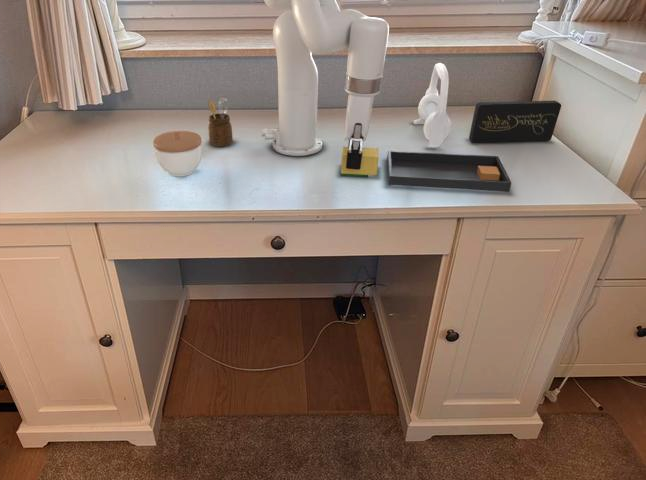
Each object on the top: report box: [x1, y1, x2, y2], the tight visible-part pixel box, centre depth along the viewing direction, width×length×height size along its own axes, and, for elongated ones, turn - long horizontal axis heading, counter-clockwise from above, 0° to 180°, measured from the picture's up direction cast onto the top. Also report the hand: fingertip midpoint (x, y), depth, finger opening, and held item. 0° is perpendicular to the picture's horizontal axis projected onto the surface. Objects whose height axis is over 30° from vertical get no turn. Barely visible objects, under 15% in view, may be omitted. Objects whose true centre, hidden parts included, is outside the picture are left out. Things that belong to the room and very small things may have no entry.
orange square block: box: [477, 166, 500, 181], centre depth 114 cm, size 4×4×2 cm
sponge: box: [340, 146, 380, 178], centre depth 117 cm, size 8×5×5 cm, turn 82°
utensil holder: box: [207, 97, 233, 148], centre depth 130 cm, size 6×6×12 cm
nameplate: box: [468, 100, 562, 144], centre depth 130 cm, size 21×2×10 cm, turn 93°
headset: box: [413, 62, 452, 148], centre depth 131 cm, size 20×7×18 cm, turn 173°
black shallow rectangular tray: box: [386, 150, 512, 193], centre depth 115 cm, size 25×14×3 cm, turn 82°
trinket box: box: [152, 130, 203, 178], centre depth 116 cm, size 11×11×9 cm
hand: (353, 159), depth 118 cm, fingers open, 9 cm apart
